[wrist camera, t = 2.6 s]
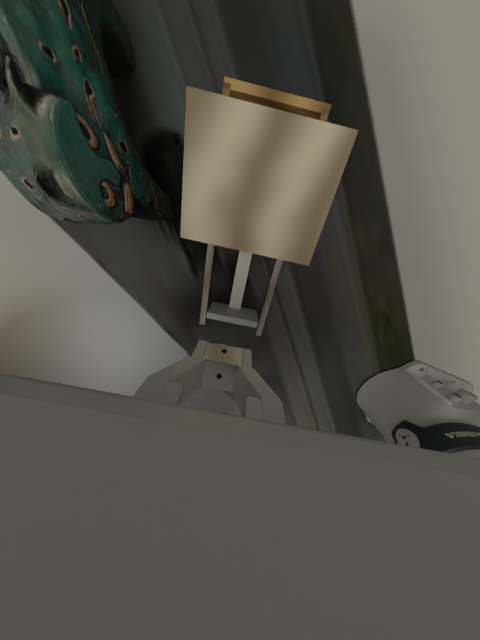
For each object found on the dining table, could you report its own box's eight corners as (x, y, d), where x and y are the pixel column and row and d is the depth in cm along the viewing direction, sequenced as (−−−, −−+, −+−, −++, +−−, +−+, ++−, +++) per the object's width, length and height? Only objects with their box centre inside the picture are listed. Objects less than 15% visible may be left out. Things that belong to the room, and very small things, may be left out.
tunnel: (329, 114, 20) (408, -7, 10) (262, 335, 33) (268, 375, 24) (221, 86, 20) (193, -70, 10) (197, 322, 33) (175, 357, 23)
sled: (293, 180, 23) (303, 165, 18) (256, 315, 31) (257, 328, 27) (230, 164, 22) (225, 146, 18) (211, 306, 31) (204, 317, 27)
